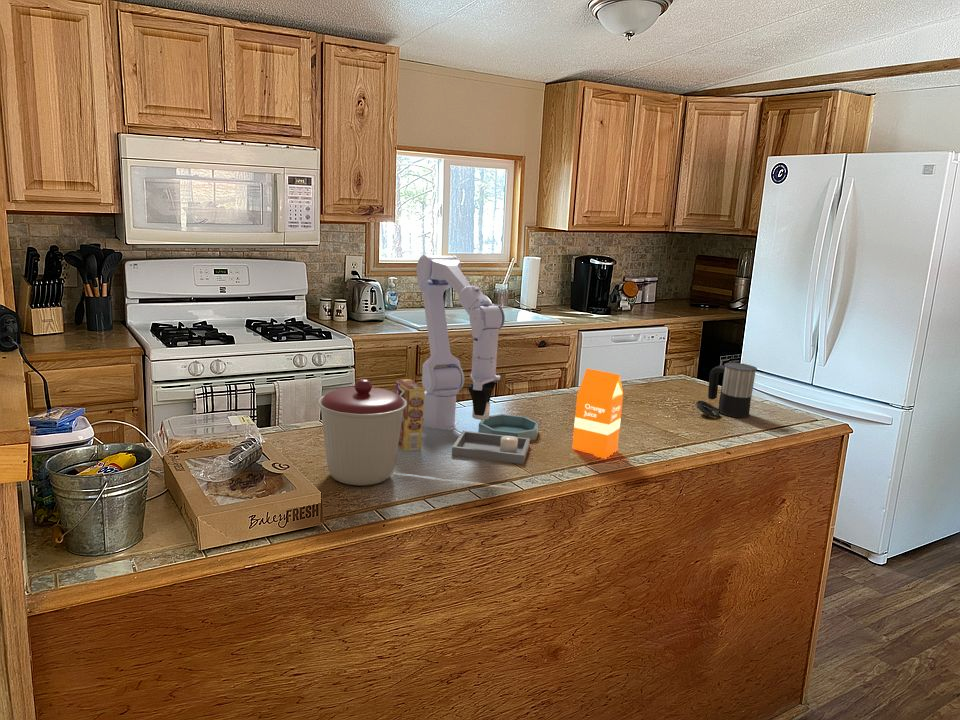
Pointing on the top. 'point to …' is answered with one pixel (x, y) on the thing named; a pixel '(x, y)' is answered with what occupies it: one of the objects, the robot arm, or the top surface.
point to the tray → (488, 447)
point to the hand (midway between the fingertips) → (480, 412)
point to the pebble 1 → (486, 414)
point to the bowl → (510, 426)
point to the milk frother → (730, 390)
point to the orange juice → (598, 413)
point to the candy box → (411, 414)
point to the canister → (361, 432)
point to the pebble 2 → (509, 444)
